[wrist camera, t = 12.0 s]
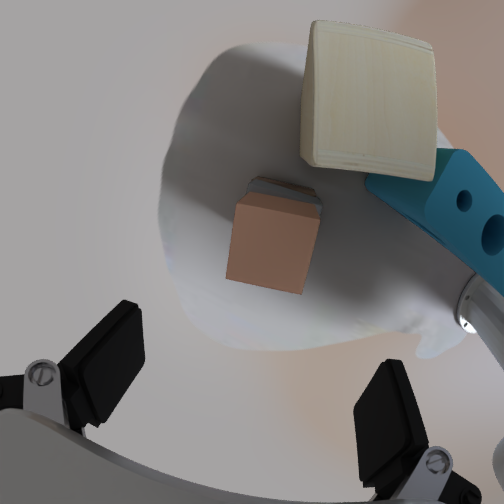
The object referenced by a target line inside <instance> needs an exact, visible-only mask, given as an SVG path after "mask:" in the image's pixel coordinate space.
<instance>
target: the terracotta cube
mask: <svg viewBox="0 0 504 504" xmlns="http://www.w3.org/2000/svg"><path fill="white" fill-rule="evenodd" d="M319 224H320V217H319V215H318V212H317V209H316V206H315V204H310V203H306V202H301V201H296V200H291V199H287V198H282V197H277V196H271V195H266V194H261V193H255V192H249V193H247V194H246V195H245V196H244V197H243V198H242V199H241V200H239V201H238V202H237V203H236V209H235V215H234V222H233V229H232V236H231V243H230V250H229V257H228V264H227V272H226V279H229V280H233V281H238V282H243V283H247V284H252V285H257V286H261V287H266V288H271V289H276V290H280V291H285V292H290V293H295V294H300V295H302V291H303V287H304V284H305V280H306V276H307V272H308V269H309V265H310V261H311V257H312V253H313V249H314V245H315V241H316V237H317V233H318V229H319Z"/></svg>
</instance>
